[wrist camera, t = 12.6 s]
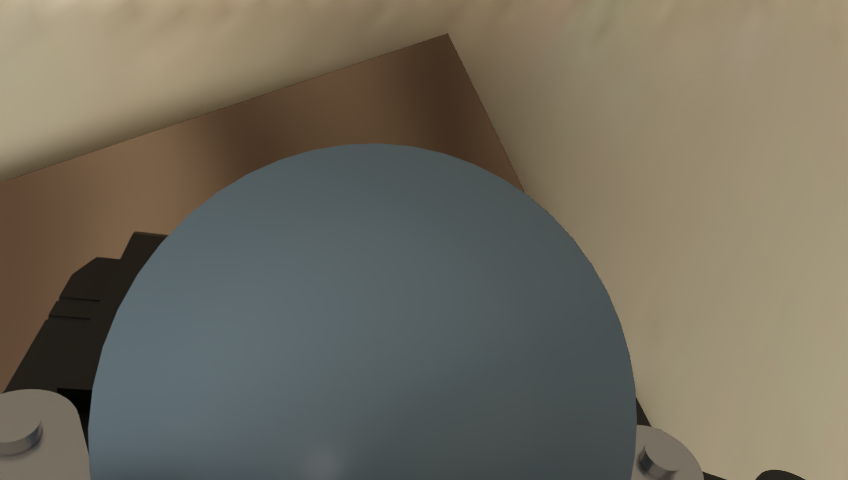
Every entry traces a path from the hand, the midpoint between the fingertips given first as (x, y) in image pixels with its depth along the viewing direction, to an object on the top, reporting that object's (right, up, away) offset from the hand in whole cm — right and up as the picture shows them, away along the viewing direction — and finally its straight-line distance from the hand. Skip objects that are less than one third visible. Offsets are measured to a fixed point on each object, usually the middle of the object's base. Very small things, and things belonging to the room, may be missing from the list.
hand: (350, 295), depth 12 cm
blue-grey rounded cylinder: (-1, -2, +4) cm, 5 cm away
